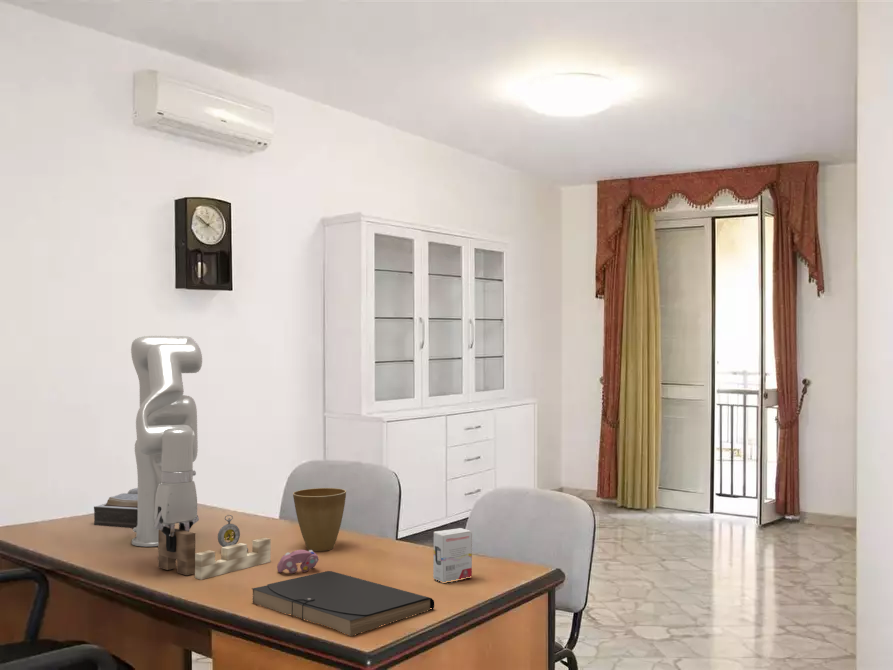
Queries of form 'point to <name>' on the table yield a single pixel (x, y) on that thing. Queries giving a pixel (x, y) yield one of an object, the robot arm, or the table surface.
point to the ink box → (452, 554)
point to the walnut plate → (178, 552)
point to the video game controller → (298, 561)
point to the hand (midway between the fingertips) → (176, 549)
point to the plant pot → (319, 516)
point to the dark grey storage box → (118, 511)
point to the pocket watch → (229, 534)
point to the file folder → (341, 601)
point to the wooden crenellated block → (232, 558)
